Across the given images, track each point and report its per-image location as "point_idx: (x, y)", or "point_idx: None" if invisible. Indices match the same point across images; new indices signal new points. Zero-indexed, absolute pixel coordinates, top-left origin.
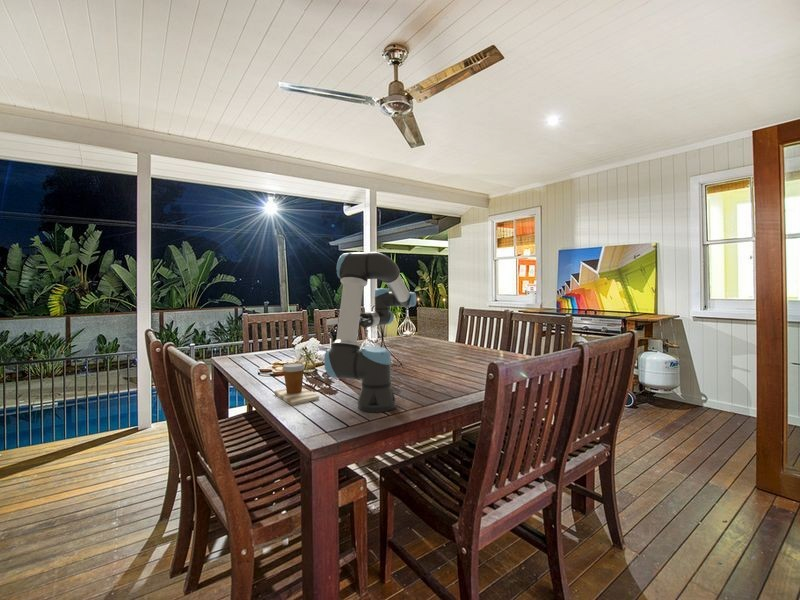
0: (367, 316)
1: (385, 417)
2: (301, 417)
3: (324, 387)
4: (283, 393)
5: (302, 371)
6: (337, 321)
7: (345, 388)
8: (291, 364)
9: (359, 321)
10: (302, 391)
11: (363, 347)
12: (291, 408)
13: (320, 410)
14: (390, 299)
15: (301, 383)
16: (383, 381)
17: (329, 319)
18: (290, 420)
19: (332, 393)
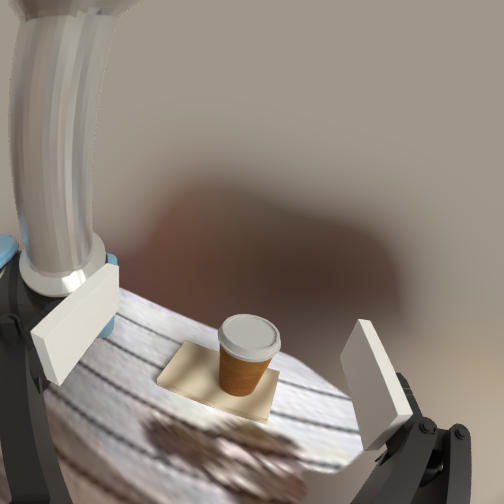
0: None
1: None
2: (130, 314)
3: (220, 464)
4: None
5: (221, 347)
6: (377, 430)
7: (149, 478)
8: (267, 338)
9: (3, 344)
10: (220, 391)
11: (10, 241)
12: (174, 336)
13: (115, 339)
14: None
15: (220, 371)
16: None
17: (365, 334)
18: (139, 305)
19: (155, 429)
